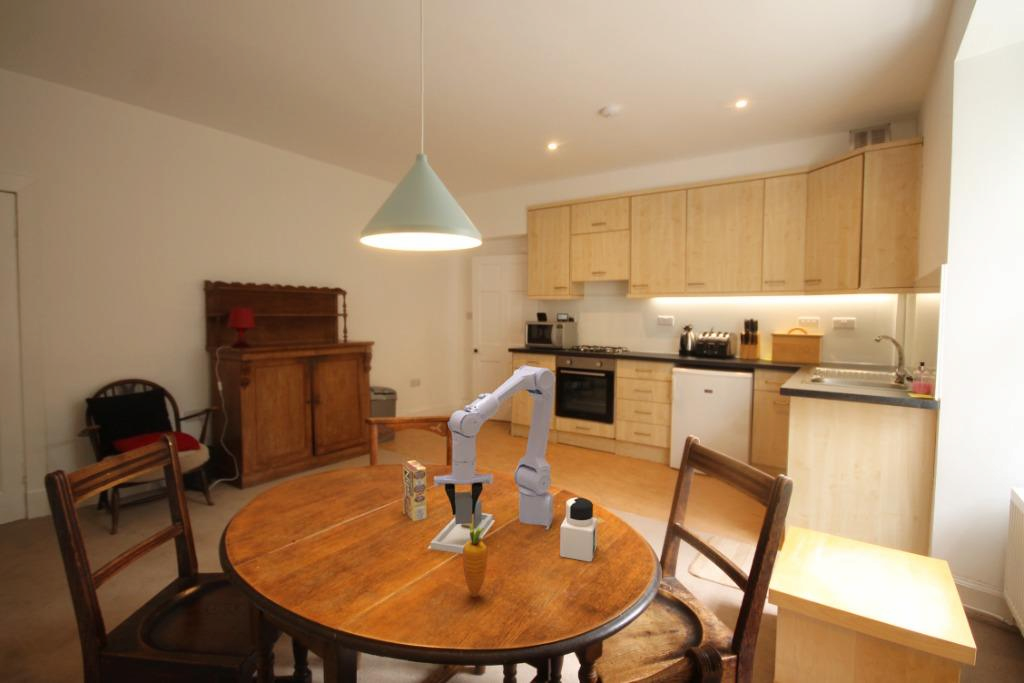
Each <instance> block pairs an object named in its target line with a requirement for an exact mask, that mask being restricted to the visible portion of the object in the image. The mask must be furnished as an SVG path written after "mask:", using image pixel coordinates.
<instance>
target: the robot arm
mask: <svg viewBox="0 0 1024 683" xmlns="http://www.w3.org/2000/svg"><path fill="white" fill-rule="evenodd" d="M556 381H557V380H556V376H555V374H554V373H553V372H552V370H551V369H550V368H548V367H538V366H529V365H526V364H523V365H522V366H520V367H518V369H515V370H514V371H513V374H512V376H510V377H509V378H508V379H507V380H505V381H504V383H502V384H501V385H500V386H499V387H498V388H496V389H495V390H494V391H493V392H491V393H489V392H488V393H487V392H485V393H480V394H479V395H478V396H477V397H478V398H477V399H476V400H474V401H472V402H471V403H470V404H466V405H465V406H464V408H463V409H461V410H459V409H458V410H456V411H454V412H453V413H452V414H451V416H450V418H449V421H447V426H448V429H449V431H451V438H452V445H451V448H452V451H451V452H452V453H451V454H452V455H451V456H452V463H451V464H452V465H451V467H452V468H451V471H452V472H451V474H445V475H436V476H433V479H434V480H433V487H440V486H444V491H445V493H446V496H447V497H448V500H449V503H450V506H451V510H452V511H451V512H452V516H455V513H456V510H455V492H456V486H462V485H465V486H466V485H471V495H472V514H474V511H475V507H476V503H477V500H478V499H479V498H480V496H481V494H482V492H483V489H484V486H483V485H484V484H488V485H493V484H494V476H493V474H492V473H491V474H489V473H487V474H485V473H476V447H477V446H476V445H477V444H476V442H477V441H476V438H477V437H476V435H477V434H478V433H479V432H480V430H481V427H482V425H483V424H484V423H485V422H486V421H488V419H490V418H492V417H493V416H494V415H495V414H496V413H497V412H499V410H500V405H501V404H502V403H504V402H505V401H507V400H508V399H509V398H511V397H513V396H514V395H515V394H517V393H518V392H520V391H522V390H523V391H526V392H527V393H529V395H530V396H531V397H532V399H533V400H534V401H533V408H532V414H531V419H530V420H531V421H530V427H529V431H528V438H527V444H526V450H525V455H523V456H522V457H521V458H520V459H519V460H518V464H517V467H516V468H515V471H514V474H513V480H514V483H515V484H516V485H517V489H518V490H519V496H518V520H519V521H520V522H521V523H523V524H525V525H537V526H539V525H540V526H546V528H545V529H544V530H545V531H549V529H550V526H551V524H552V523H553V519H554V495H553V493H552V492H548V490H549V489H550V488H551V483H552V478H551V469H552V468H551V466H550V464H549V462H547V460H546V453H547V447H548V441H549V440H548V439H549V434H550V427H551V422H552V421H551V420H552V416H553V410H554V409H553V408H554V402H555V385H556Z"/></svg>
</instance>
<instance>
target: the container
mask: <svg viewBox="0 0 1024 683" xmlns="http://www.w3.org/2000/svg"><path fill="white" fill-rule="evenodd" d="M559 531H560V539H559V540H560V541H559V543H560V546H559V556H560V557H562V558H565V559H566V558H567V559H573V560H576V561H577V560H578V561H583V562H589V563H591V562H593V559H594V555H595V552H596V549H597V547H598V546H597V542H598V541H597V538H598V536H597V534H598V518H597V517H594V504H593V502H592V501H591V500H589V499H587V498H584V497H572V498H569V499H568V500H566V503H565V518H564V520H563V521H562V523H561V525H560V530H559Z"/></svg>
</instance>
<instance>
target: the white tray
mask: <svg viewBox="0 0 1024 683" xmlns="http://www.w3.org/2000/svg"><path fill="white" fill-rule="evenodd" d="M493 516H494V515H493V514H491V513H484V512H482V519H481V522H480V524H479V525H478V526H477V527H476V528H475V529H474V535H475V532H476V530H477V528H482V527H483V528H484V530H483V531H482V532H481V533H480V535H479V538H480V537H481V538H482V539H483V537H485V535H486V533H487V532H488V531H489V530H490V529H491V527H492V526H493V524H494V523H495V522H496V520H495V519H493ZM479 538H478V539H479ZM469 541H472V540H471V537H470V528H466V527H461V524H456V523H455V517H454V518H452V519H451V520H450V522H448V524H447V525H446V526H444V528H443V529H442V530H441V531H440V532H439V533H438V534H437V535H436V536H435V537H434V538H433V539H432V540H431V542H430V545H429V546H428V547H427V549H430V550H437V551H443V552H449V553H454V554H455V553H456V554H460V555H461V554H462V555H463V548H464V546H465V545H466V544H467V543H468V542H469Z"/></svg>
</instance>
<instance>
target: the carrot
mask: <svg viewBox="0 0 1024 683" xmlns="http://www.w3.org/2000/svg"><path fill="white" fill-rule="evenodd" d="M483 530H484V528H483V527H482V528H477V530H476V532H475V535H474V528H473V524H472V525H470V537H471V540H472V541H469V542H468V543H467V544H466V545H465V546H464V548H463V554H462V562H463V563H462V564H463V574H464V579H465V582H466V586H467V589H468V591H469V593H470V594H471V596H472V597H473V598H476V597H478V595H479V593H480V591H481V589H482V587H483V585H484V582H485V578H486V572H487V564H488V547H487V545H486V544H485V542H483V541H482V540H483V538H481V537H480V538H479V535H480V533H481V532H482V531H483ZM478 538H479V539H478Z"/></svg>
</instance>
